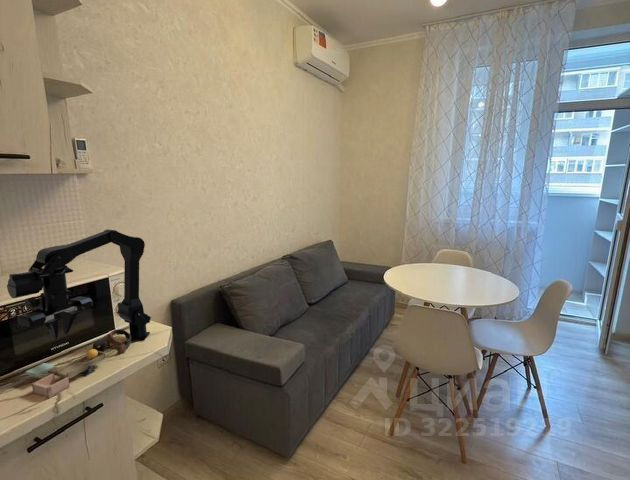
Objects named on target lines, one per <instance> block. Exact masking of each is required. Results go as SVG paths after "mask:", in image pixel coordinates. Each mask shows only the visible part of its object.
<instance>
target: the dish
mask: <svg viewBox="0 0 630 480" xmlns="http://www.w3.org/2000/svg"><path fill="white" fill-rule="evenodd" d="M55 376H56V375H54V374H48V375H47V376H45V377H43V378H41V379H39V380H37V381H35V382H33V383H31V386H32V394H34V395H37V396H40V397H44V398H47V399H50V398H51V399H52V398H53V397H54V396H56V395H58V394H60V393H62V392H64V391H65V390H67V389H69V388H70V387H71V386H70V379H69V378H68V377H66V378H63V379H61V380H59V381H56V377H55Z"/></svg>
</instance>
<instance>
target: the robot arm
mask: <svg viewBox="0 0 630 480" xmlns="http://www.w3.org/2000/svg"><path fill="white" fill-rule="evenodd" d="M110 243H111V244H114V245H116V246H118V247H119V250H120V254H121V256H122V258H123V261H124V271H123V273H124V276H123V278H124V282H123V283H124V286H123V287H124V292H123V293H124V296H123V299H122V301H121V302H117V312H116V313H117V314H118V315H119V317H120V318H121V319H122V320H123V321H124V322H125V323H127V324H128V328H129V329H128V331H129V334H130V335H131V342H136V341H138V342H139V341H141V342H142V341H145V340H146V339H147V338H148V337H149V335H150V334H151V331H147V325H148V324H150V323H151V318H152V316H150V315H148V314H146V313H145V311H144V304H143V303H142V301H141V299H140V260H141V258H142V257H143V255H144V251H145V248H146V247H145V246H146V244H145V241H144V239H142V237H138V236H130V235H127V234H124V233H121V232H119V231H118V230H116V229H115V230H114V229H108V228H107V229H104V230H103V231H101V232H97V233H96V234H93V235H91V236H88V237H84V238H82V239H79V240H77V241H73V242H71V243H67V244H61V245H54V246H49V247H44V248H42V249H40V250H39V251H38V252H37V254H36V255H35V257H36V258H35V261H33V263H32V264H31V266H30V267H29V268H28V271H25V272H19V273H11V274H9V275H8V276H9V277H8V280H7V284H6V288H7V292H8V294H9V296H10V297H11V299H17V298H22V297H26V296H31V295H35V294H39V293H40V294H39V296H40V298H36V297H35V296H32V297H28V298H26V299H24V305H25V308H26V309H27V310H31V309H33V311H29V312H26V313H23V314H20V315H18V317H17V319H16V320H17V325H18V326H21V327H26V328H35V327H38V326H40V325H44V327H46V329H47V330H48V332H49V333H50V335H51V336H52V338H53V339H58V338H59V337H58V336H59V319H58V318H55V315H57V314H59V315H60V317H61V321H62V331H63V333H64V335H68V334H69V332H70V331H71V328H72V325H73V323H74V321H75V319H76V318H77V316H78V314H80V313H81V310H78V307H81V308H82V309H88V308H90V307H93V299H92V298H91V297H87V296H76V297H73V298H70V299H69V296H68V295H70V294H71V290H68V287H67V276H66V274H69V273H73V272H74V269H73V268H70V267H69V266H68V264H70V263H71V262H72V261H73V260H75V259H76V258H77V257H79V256H81V255H83V254H85V253H88V252H91V251H93V250H95V249H98V248H100V247H103V246H106V245H108V244H110ZM41 291H43V292H41ZM38 310H40V311H42V312H39V311H38ZM44 310H45V311H44ZM37 311H38V312H37ZM127 340H128V338H126V339H125V341H127Z"/></svg>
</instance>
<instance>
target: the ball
mask: <svg viewBox="0 0 630 480" xmlns="http://www.w3.org/2000/svg"><path fill="white" fill-rule="evenodd" d="M86 355H87V357H88V358H89V359H94V358H96V357H97V355H98V351H97V350H95V349H93V348H91V349H90V350H88V351H87V352H86Z"/></svg>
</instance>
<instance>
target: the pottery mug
mask: <svg viewBox="0 0 630 480" xmlns="http://www.w3.org/2000/svg"><path fill="white" fill-rule="evenodd" d="M114 334H116V335H124V336H125V339H126V340H127V338H128V340H127V341H126V340H125V341H124V343H123V341H122V340H119V339H117V338H116V337H114V336H113V335H114ZM131 342H132V341H131V335H130V332H128V331H127V330H124V329H120V328H119V329H114V330H111V331H110V333H108V334H106V335H104V337H103V338H102V339H98V340H96V341H95V342H93V344H92V349H95V350H97V351H101V352H104V353H105V349H106V348H109V347H111V345H112V346H116V347H117V348H120V350H119V354H124V353H125V352H126V350H128V348H130V346H131V344H132V343H131Z"/></svg>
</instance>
